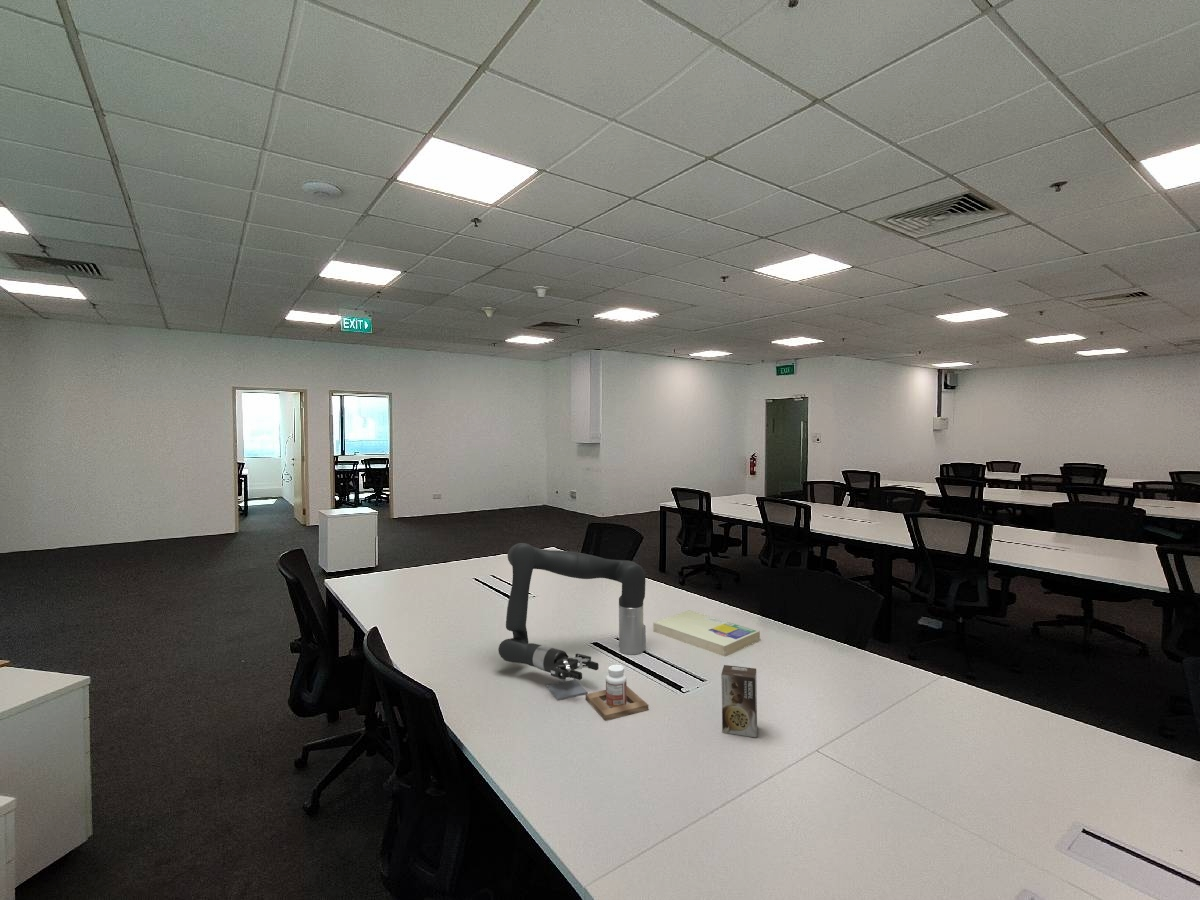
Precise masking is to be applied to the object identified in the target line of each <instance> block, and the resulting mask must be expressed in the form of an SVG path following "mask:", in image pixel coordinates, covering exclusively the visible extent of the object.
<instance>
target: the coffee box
mask: <svg viewBox="0 0 1200 900" xmlns="http://www.w3.org/2000/svg"><path fill="white" fill-rule="evenodd" d="M720 674H721V676H720V677H721V729H722V730H721V732H722V733H724V734H730V735H731V734H732V735H737V736H744V737H750V738H757V736H758V697H757V695H758V691H757V689H758V688H757V686H758V685H757V682H758V681H757V668H755V667H746V666H738V665H737V666H736V665H728V664H724V665H723V667H722V671H721V673H720Z"/></svg>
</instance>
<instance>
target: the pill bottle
mask: <svg viewBox="0 0 1200 900" xmlns="http://www.w3.org/2000/svg"><path fill="white" fill-rule="evenodd" d="M607 669H608V674H607V675H606V676H605V690H606V700H605V703H606V705H607V706H608V707H609V708H614V707H618V706H622V705H626V704H628V701H627V690H626V686H627V677H626V676H627V675H626V674H625V668H624V666H623V665H620V664H612V665H610V666H609V665H608V668H607Z"/></svg>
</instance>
